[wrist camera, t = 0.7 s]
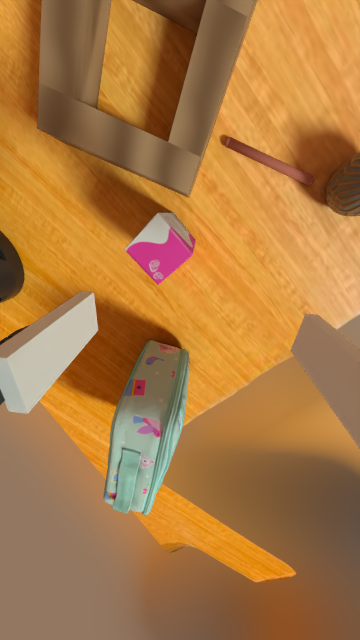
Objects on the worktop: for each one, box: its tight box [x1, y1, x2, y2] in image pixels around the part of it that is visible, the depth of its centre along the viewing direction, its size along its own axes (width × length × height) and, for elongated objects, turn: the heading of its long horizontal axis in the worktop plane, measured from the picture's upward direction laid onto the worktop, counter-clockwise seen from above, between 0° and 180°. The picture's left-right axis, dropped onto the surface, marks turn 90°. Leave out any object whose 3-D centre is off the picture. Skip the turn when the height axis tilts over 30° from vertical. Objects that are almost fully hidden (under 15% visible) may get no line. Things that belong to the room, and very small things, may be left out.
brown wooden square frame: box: [37, 0, 257, 197], centre depth 23 cm, size 19×19×5 cm
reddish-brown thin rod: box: [225, 137, 314, 185], centre depth 27 cm, size 13×1×1 cm, turn 69°
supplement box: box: [125, 212, 196, 285], centre depth 28 cm, size 6×6×12 cm
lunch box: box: [104, 340, 190, 515], centre depth 38 cm, size 27×10×21 cm, turn 169°
